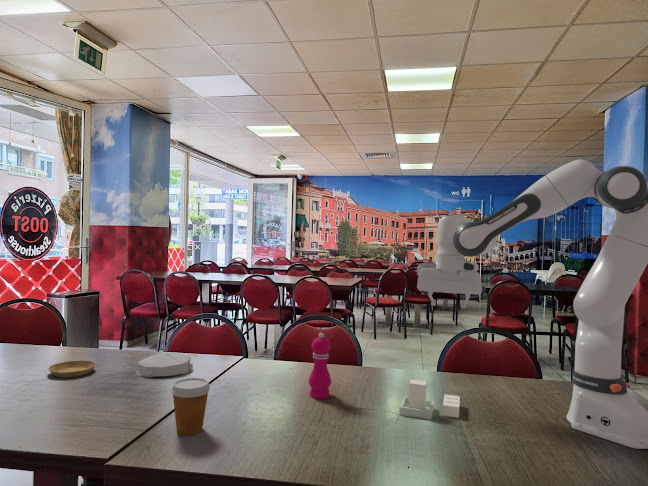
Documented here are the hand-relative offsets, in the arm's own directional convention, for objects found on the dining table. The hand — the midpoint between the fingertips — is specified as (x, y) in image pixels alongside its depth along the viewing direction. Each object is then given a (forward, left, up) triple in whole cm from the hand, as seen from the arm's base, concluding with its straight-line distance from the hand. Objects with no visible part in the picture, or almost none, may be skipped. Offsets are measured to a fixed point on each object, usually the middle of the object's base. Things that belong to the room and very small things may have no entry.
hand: (448, 306), depth 143 cm
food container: (+62, +79, -30) cm, 104 cm away
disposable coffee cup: (+6, +80, -29) cm, 85 cm away
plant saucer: (+70, +109, -30) cm, 133 cm away
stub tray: (-7, +17, -29) cm, 35 cm away
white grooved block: (-10, +7, -29) cm, 32 cm away
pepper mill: (+16, +38, -29) cm, 51 cm away
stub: (-7, +17, -28) cm, 34 cm away
